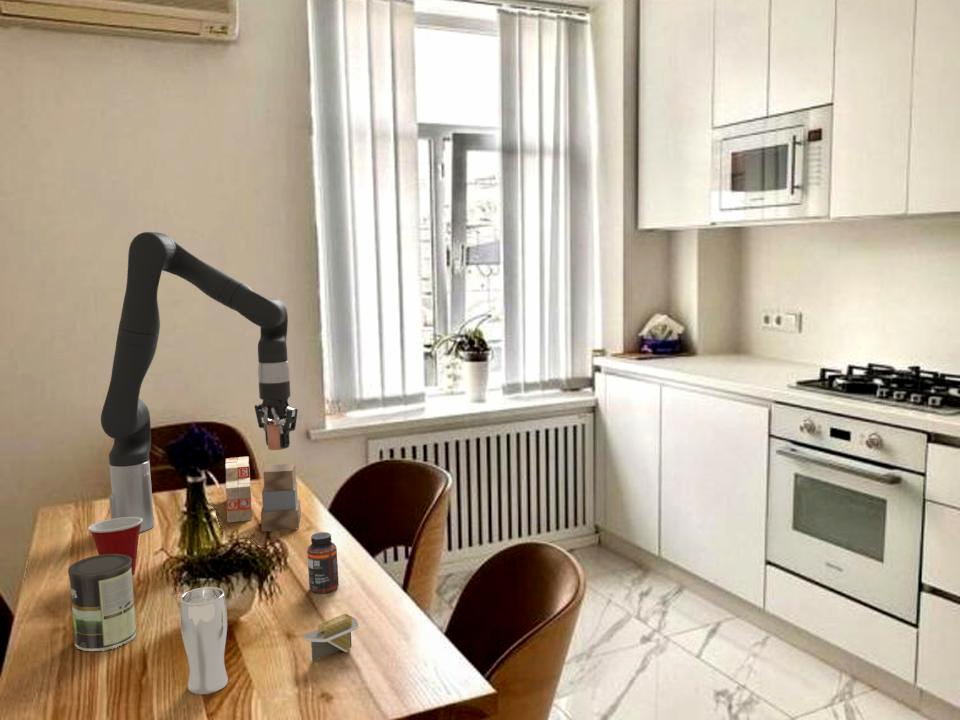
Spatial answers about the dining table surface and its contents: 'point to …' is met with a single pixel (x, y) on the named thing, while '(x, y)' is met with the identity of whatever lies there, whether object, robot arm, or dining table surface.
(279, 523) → the tower bottom
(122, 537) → the plastic cup
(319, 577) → the supplement bottle
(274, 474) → the tower top
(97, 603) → the coffee can
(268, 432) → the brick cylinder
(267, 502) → the tower middle
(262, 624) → the dining table surface
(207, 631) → the beer glass
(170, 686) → the dining table surface
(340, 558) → the dining table surface
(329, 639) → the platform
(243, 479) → the stack of blocks
